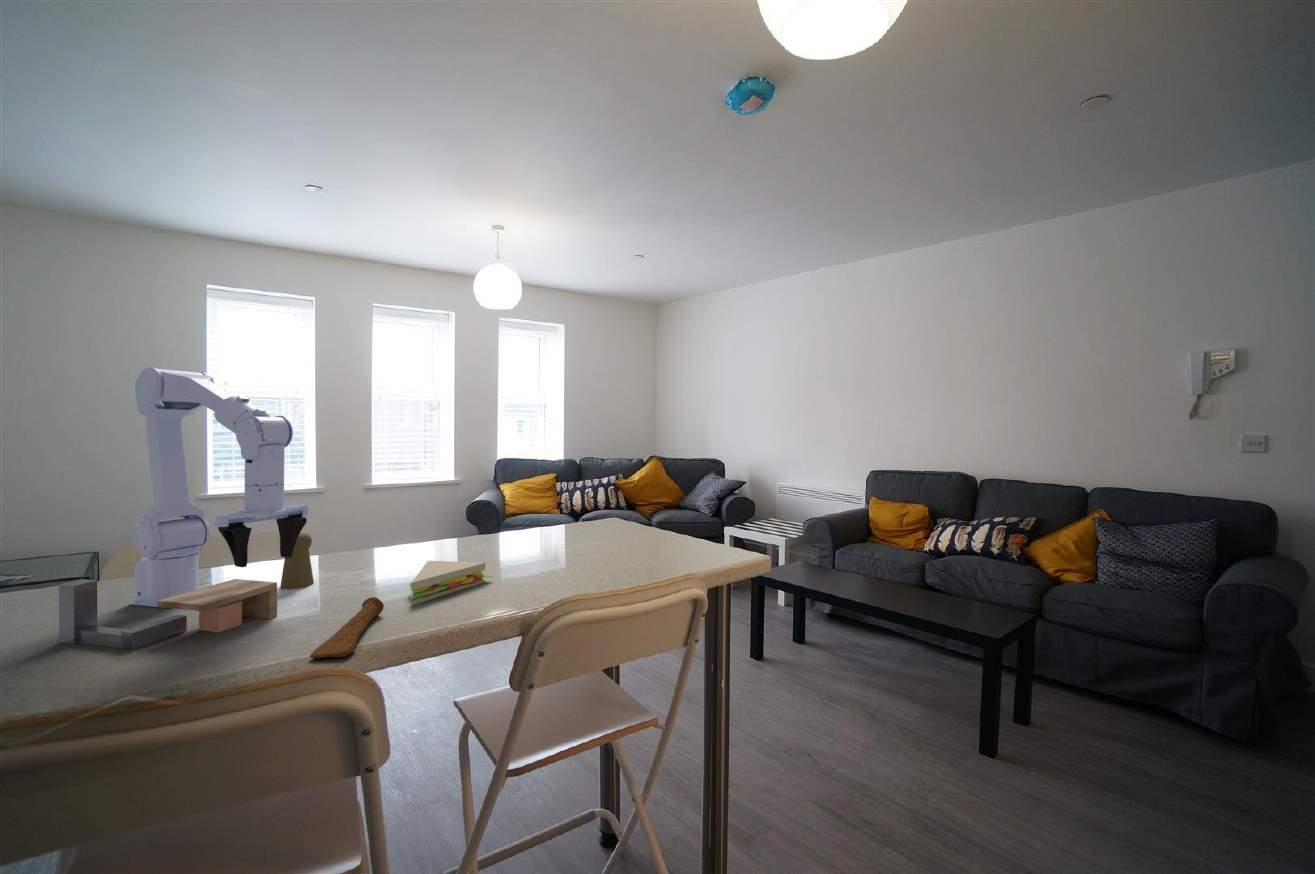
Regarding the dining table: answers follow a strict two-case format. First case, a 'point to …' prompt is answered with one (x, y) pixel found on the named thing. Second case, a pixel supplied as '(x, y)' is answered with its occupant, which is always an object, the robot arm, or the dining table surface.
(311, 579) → the cork
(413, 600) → the sandwich
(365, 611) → the primitive tool
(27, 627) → the dining table surface
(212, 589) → the cubby
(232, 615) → the cube
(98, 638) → the grey angled block
